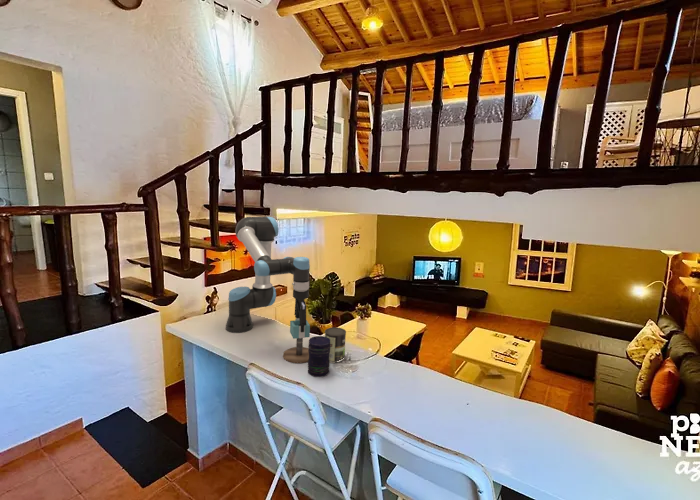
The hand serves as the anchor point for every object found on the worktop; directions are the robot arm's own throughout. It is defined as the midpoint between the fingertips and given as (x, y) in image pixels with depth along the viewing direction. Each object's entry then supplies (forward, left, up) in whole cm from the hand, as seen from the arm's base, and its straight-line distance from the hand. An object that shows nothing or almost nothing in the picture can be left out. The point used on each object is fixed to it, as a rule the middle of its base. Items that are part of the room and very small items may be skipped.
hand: (299, 334), depth 174 cm
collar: (0, 0, 0) cm, 0 cm away
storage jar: (+17, +5, -11) cm, 21 cm away
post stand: (0, 0, -11) cm, 11 cm away
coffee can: (+7, +16, -11) cm, 21 cm away
